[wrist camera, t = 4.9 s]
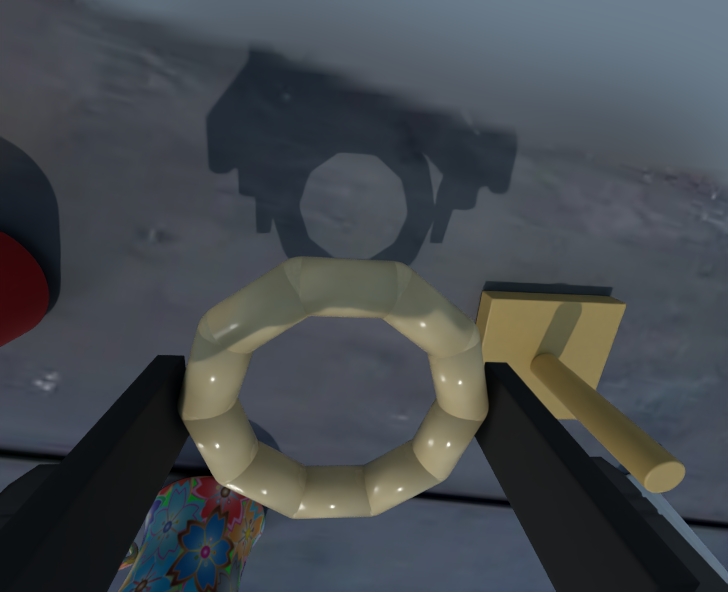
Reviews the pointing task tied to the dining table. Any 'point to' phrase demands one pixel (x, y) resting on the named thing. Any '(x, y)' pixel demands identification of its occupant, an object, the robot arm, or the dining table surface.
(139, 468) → the robot arm
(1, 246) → the beverage can
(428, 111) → the dining table surface
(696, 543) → the pepper shaker
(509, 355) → the square plate with peg
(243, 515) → the mug
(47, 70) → the dining table surface
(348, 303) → the ring
